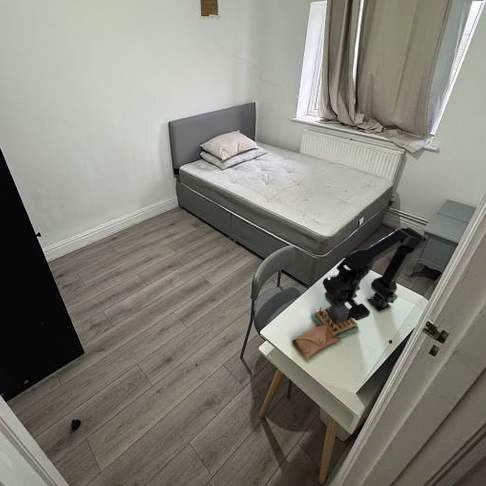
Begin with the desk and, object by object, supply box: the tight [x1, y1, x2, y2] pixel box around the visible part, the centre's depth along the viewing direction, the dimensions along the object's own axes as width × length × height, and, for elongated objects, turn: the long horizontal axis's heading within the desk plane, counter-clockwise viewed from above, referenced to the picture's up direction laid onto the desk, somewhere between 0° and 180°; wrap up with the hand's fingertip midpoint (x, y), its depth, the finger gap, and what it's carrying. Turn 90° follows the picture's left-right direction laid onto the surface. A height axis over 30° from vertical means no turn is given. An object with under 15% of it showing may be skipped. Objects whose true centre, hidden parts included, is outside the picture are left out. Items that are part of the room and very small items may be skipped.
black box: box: [327, 304, 350, 325], centre depth 113 cm, size 6×5×6 cm
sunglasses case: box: [291, 321, 342, 361], centre depth 110 cm, size 18×7×7 cm, turn 118°
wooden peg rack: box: [311, 306, 360, 339], centre depth 115 cm, size 13×12×8 cm
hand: (339, 310), depth 112 cm, fingers open, 9 cm apart
